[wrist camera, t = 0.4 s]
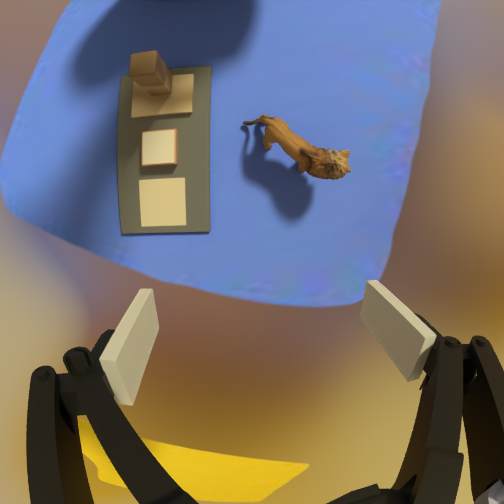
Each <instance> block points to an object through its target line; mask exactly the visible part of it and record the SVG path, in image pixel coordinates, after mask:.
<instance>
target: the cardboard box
mask: <svg viewBox="0 0 504 504" xmlns="http://www.w3.org/2000/svg"><path fill="white" fill-rule="evenodd" d="M129 77H130V78H131V79H132V80H134V83H133V95H132V112H131V118H139V117H147V116H157V115H168V114H181V113H192V111H193V85H194V74H183V75H172V73H171V72H170V70H169V69H168V67H167V66H166V64H165V62H164V61H163V59H162V58H161V56H160V55H159V53H158V52H157V50H152V51H146V52H140V53H134V54H131V60H130V69H129Z"/></svg>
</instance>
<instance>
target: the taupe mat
mask: <svg viewBox="0 0 504 504" xmlns="http://www.w3.org/2000/svg"><path fill="white" fill-rule="evenodd" d="M169 70H170V72H171V73H172V75H183V74H194V85H193V111H192V113H181V114H168V115H157V116H147V117H139V118H131V112H132V95H133V83H134V80H132V79H131V78H130V77H129V74H128V75H123V76H121V83H120V94H119V109H118V134H117V170H118V196H119V211H120V223H121V234H129V233H162V232H210V103H211V74H212V66H199V67H183V68H172V69H169ZM165 129H177V130H178V164H170V165H154V166H142V132H144V131H154V130H165Z"/></svg>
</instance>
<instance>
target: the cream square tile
mask: <svg viewBox="0 0 504 504" xmlns="http://www.w3.org/2000/svg"><path fill="white" fill-rule="evenodd" d="M170 164H178V130H177V129H165V130H154V131H144V132H142V166H154V165H170Z"/></svg>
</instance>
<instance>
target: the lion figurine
mask: <svg viewBox="0 0 504 504" xmlns="http://www.w3.org/2000/svg"><path fill="white" fill-rule="evenodd" d="M259 122H262V123H263V124H266V127H265V135H263V136H262V138H263V146H264V148H265V149H267V150H268V149H270V148H271V147H272V144H271V143H275V142H277V143H279V145H280V146H281V147H282V148H283V150H284V151H285V152H286V153H287V154H288V155H289V156H290V157H291V158H293V159H294V160H295V161H296V162H298V163H299V164H298V170H299V171H300V172H304V171H307V173H308V174H309V175H311V176H313V177H316V178H321V179H332V180H334V179H339V178H342V177H344V176H345V174H346V173H347V172H351V169H350V168H349V165H348V157H349V155H350V153H349V151H348V150H340V151H339V152H337V151H336V150H332V149H324V148H317V147H315V146H311V145H310V144H309V143H308V142H307V141H306V140H304V139H303V138H301V137H300V136H298V135H296V134H294V133H293V132H292V131H291V130H290V128H289V127H288V125H287V123H286V122H285V121H283V120H281V119H280V118H277V117H269V116H268V115H262V116H261V117H260V118H258V119H256V120H254V121H250V122H249V121H245V122H243V124H244V125H253V124H256V123H259Z"/></svg>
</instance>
